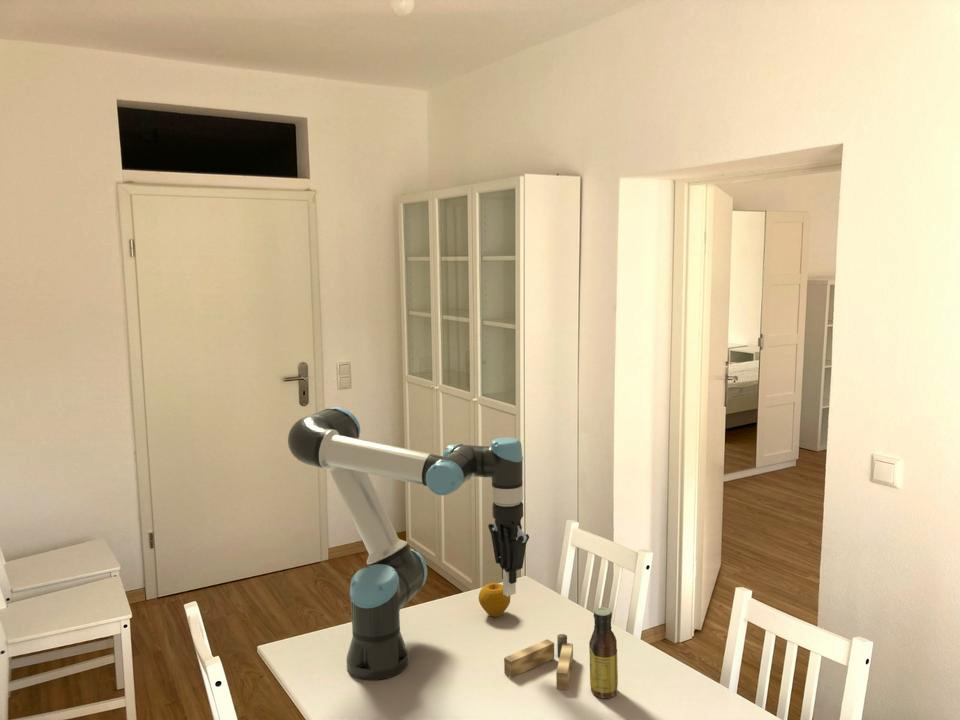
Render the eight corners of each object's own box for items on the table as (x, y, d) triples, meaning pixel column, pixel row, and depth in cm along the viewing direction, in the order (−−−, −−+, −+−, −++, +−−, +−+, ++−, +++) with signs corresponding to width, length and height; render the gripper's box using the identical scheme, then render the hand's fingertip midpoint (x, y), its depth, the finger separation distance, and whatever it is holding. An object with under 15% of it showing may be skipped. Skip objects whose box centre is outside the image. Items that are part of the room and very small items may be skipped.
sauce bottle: (599, 681, 182) (598, 601, 179) (622, 690, 178) (623, 608, 175) (584, 694, 177) (583, 611, 174) (608, 703, 173) (608, 619, 170)
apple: (477, 608, 221) (477, 578, 220) (509, 606, 222) (508, 576, 221) (479, 622, 213) (479, 591, 211) (512, 621, 213) (511, 590, 212)
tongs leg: (547, 654, 195) (547, 639, 194) (554, 658, 193) (554, 642, 192) (504, 673, 186) (504, 657, 186) (511, 677, 184) (510, 661, 184)
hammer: (558, 653, 195) (557, 633, 195) (573, 654, 195) (573, 634, 194) (550, 688, 180) (550, 667, 179) (567, 689, 179) (567, 668, 178)
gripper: (537, 504, 186) (538, 598, 189) (502, 492, 197) (504, 581, 200) (513, 511, 182) (515, 607, 185) (479, 498, 192) (481, 589, 195)
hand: (509, 593), depth 192 cm, fingers closed
